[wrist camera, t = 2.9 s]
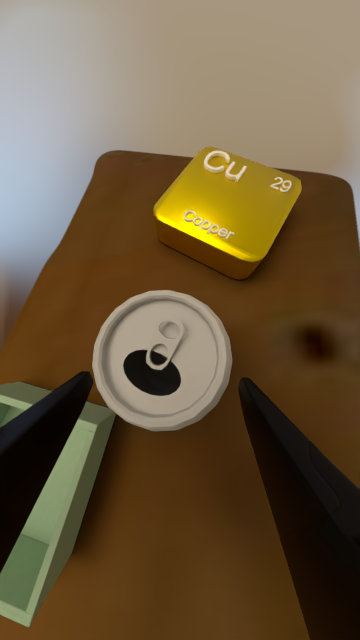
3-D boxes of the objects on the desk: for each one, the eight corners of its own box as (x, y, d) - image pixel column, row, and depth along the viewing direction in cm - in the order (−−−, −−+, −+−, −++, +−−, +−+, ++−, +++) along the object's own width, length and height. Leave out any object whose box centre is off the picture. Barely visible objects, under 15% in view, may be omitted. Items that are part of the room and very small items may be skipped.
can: (132, 373, 18) (39, 396, 6) (160, 318, 20) (127, 256, 8) (190, 403, 17) (206, 493, 5) (215, 341, 19) (265, 310, 7)
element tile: (152, 239, 23) (145, 208, 18) (202, 177, 26) (205, 137, 21) (244, 286, 21) (262, 264, 16) (286, 211, 24) (311, 174, 19)
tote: (71, 554, 14) (28, 629, 10) (-42, 510, 15) (-119, 561, 11) (117, 410, 17) (97, 425, 13) (20, 381, 18) (-24, 387, 14)
